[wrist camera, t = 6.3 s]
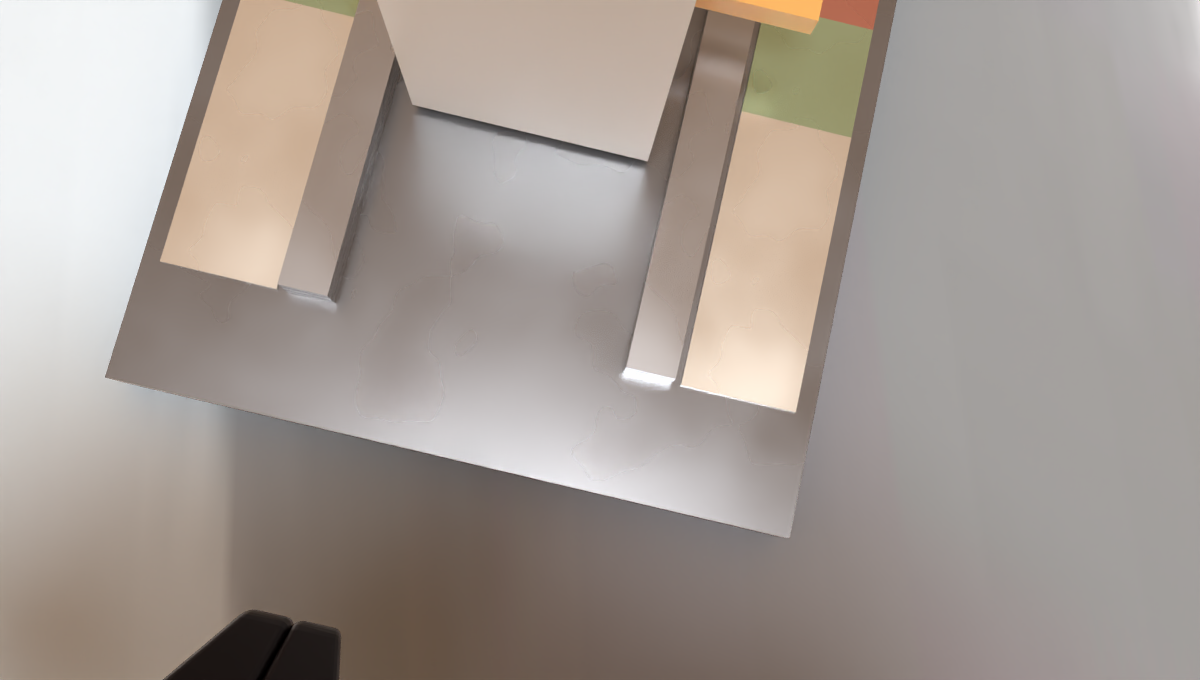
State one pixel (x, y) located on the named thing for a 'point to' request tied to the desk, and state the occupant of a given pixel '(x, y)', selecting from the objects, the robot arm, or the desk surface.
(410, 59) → the cream box
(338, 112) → the gauge base
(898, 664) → the desk surface
